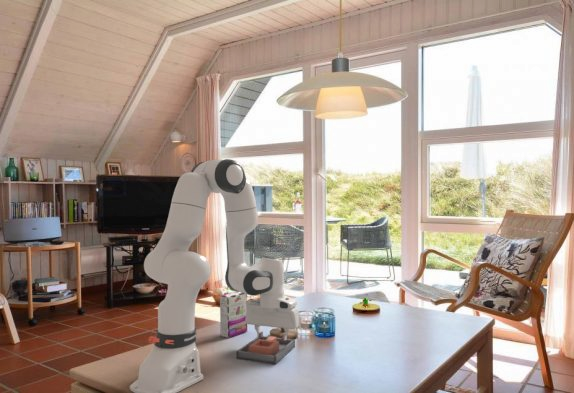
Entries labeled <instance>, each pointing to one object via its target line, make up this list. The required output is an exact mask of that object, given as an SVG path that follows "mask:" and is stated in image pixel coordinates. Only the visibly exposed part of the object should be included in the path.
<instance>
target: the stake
mask: <svg viewBox="0 0 574 393" xmlns="http://www.w3.org/2000/svg"><path fill="white" fill-rule="evenodd" d="M285 332H286V331H284V328H276V327H274V328H272V329H271V330H269V337H270V336H272V337H277V338H281V335H283V334H285ZM287 339H290V340H297V339H298V330H297V329H290V330H289V332H288V334H287Z"/></svg>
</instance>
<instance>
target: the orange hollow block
mask: <svg viewBox="0 0 574 393" xmlns="http://www.w3.org/2000/svg"><path fill="white" fill-rule="evenodd" d="M268 337H269V338H267V339H266V340H262V339H258V340H257V341H255V342H254V343H252V344H251V345H250V346H249V352H251V353H259V354H266V355H274V354H275V353H276V352H277V351H278V350H279V342H278V341H277V337H272V336H270V335H269V336H268Z"/></svg>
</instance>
